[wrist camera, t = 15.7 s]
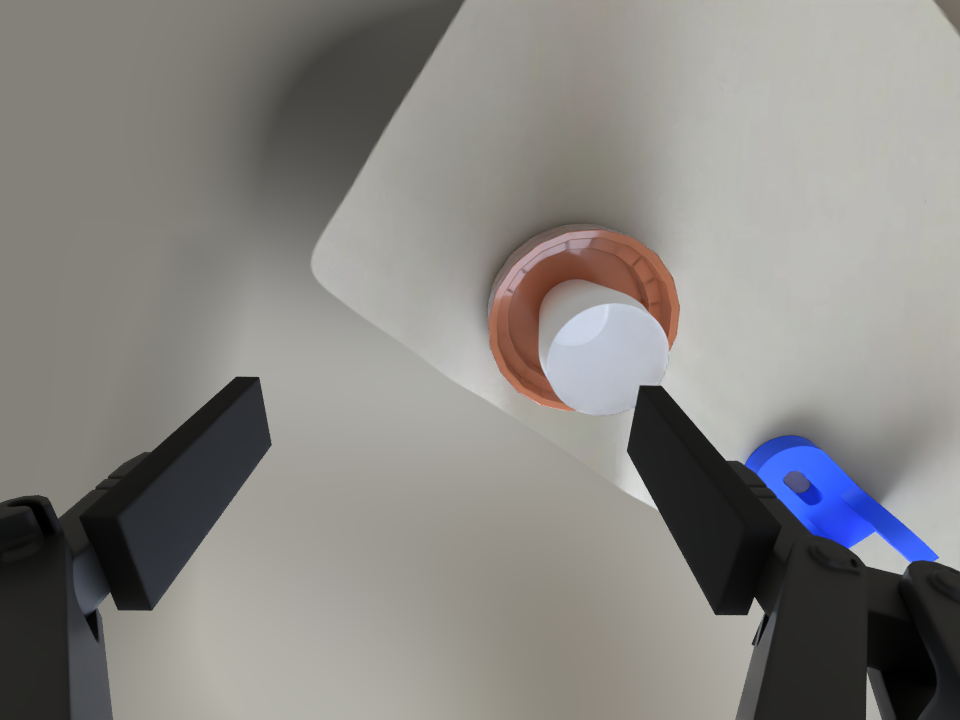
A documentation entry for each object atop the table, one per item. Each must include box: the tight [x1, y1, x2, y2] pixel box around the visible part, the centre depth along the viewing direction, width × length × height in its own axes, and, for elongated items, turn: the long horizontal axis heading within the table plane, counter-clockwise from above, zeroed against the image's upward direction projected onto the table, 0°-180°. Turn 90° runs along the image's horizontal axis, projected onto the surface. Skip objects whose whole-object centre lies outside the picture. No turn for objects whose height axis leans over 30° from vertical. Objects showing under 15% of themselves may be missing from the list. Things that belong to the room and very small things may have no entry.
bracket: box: [745, 436, 939, 563], centre depth 48 cm, size 18×8×9 cm, turn 49°
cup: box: [539, 279, 669, 416], centre depth 37 cm, size 9×9×12 cm
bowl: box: [487, 223, 680, 411], centre depth 41 cm, size 16×16×5 cm
